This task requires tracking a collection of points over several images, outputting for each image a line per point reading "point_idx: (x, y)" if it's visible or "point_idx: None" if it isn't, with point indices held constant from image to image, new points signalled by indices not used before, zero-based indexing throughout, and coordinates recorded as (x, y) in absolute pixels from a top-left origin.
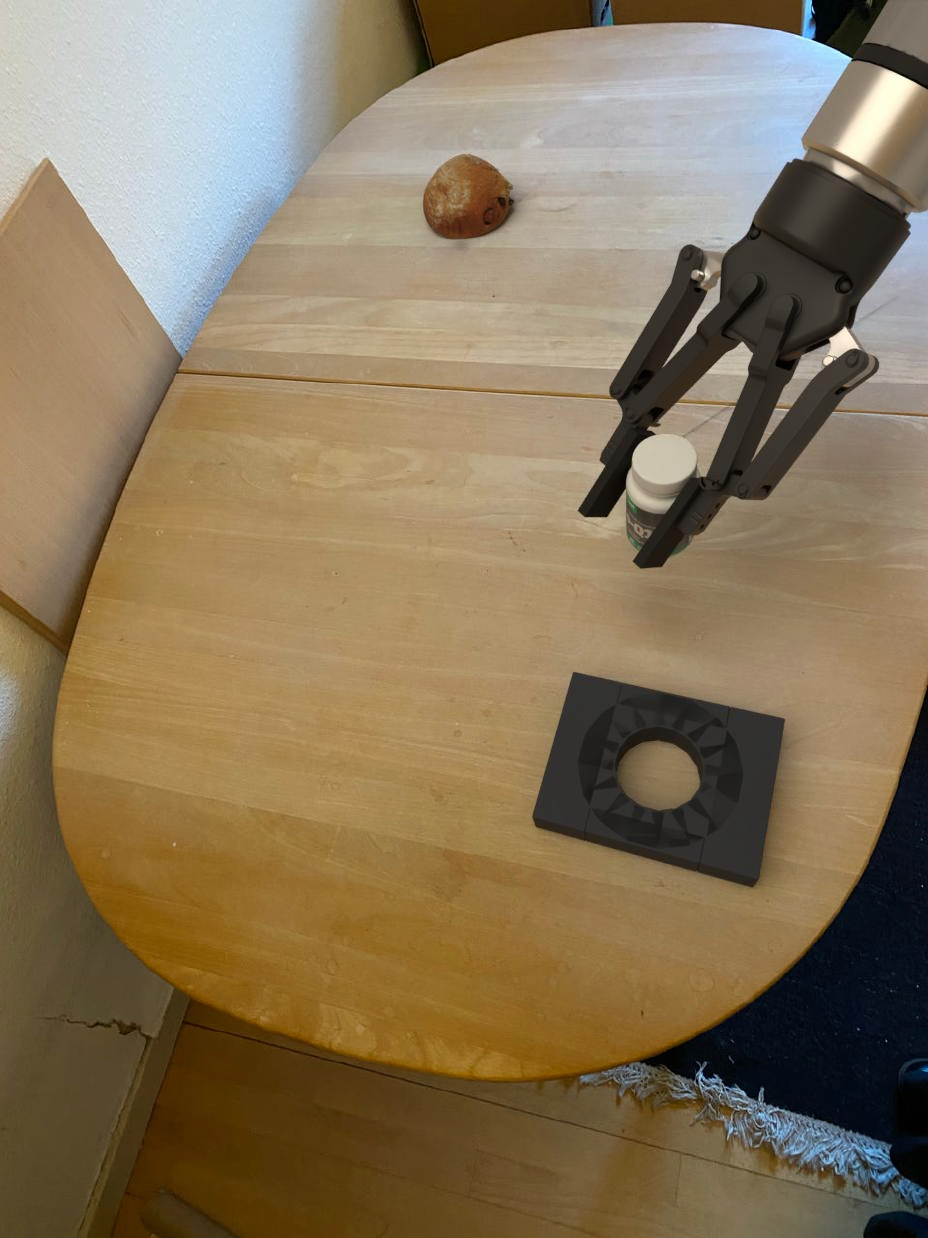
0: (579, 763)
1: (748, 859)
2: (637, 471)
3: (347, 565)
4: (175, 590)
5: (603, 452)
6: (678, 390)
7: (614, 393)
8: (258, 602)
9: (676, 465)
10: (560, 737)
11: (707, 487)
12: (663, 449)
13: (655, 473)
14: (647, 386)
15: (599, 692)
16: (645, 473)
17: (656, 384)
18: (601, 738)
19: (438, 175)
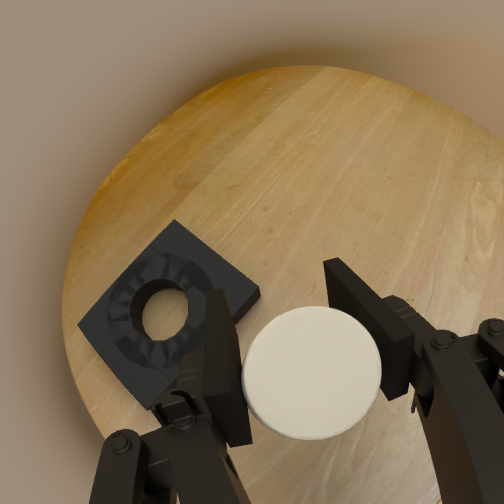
0: (188, 259)
1: (86, 326)
2: (309, 307)
3: (414, 187)
4: (413, 113)
5: (401, 301)
6: (443, 452)
7: (489, 324)
8: (398, 139)
9: (283, 386)
10: (212, 255)
11: (166, 394)
12: (338, 381)
13: (286, 337)
14: (480, 382)
15: (231, 297)
16: (296, 319)
17: (476, 401)
18: (197, 282)
19: None
